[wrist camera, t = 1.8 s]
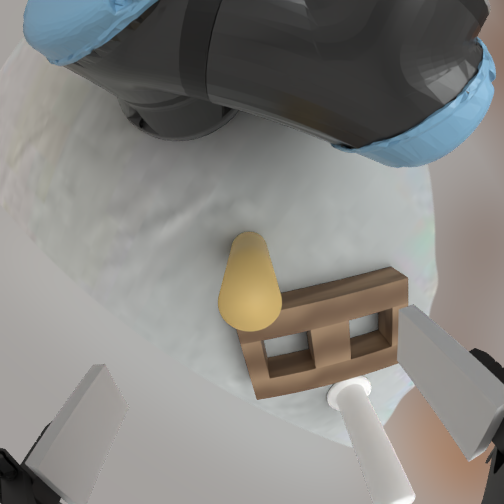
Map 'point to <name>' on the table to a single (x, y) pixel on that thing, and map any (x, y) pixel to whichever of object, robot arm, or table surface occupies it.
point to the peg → (249, 285)
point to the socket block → (328, 334)
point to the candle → (370, 442)
